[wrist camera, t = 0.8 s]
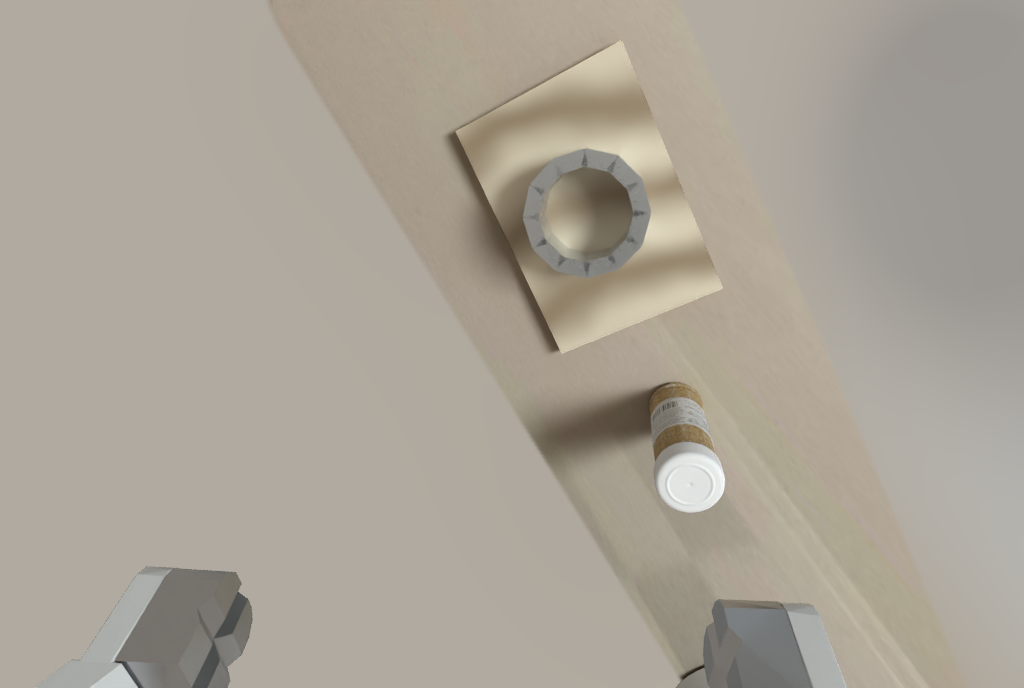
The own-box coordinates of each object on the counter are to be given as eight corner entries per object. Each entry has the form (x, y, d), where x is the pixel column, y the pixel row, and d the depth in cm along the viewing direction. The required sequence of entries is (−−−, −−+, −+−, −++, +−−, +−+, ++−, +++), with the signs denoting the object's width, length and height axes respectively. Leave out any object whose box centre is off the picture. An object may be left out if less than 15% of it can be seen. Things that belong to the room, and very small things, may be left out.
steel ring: (672, 206, 47) (676, 212, 44) (590, 289, 50) (587, 300, 47) (587, 124, 47) (583, 122, 43) (509, 213, 50) (499, 218, 46)
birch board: (720, 285, 50) (722, 288, 48) (563, 349, 54) (561, 353, 52) (621, 42, 46) (621, 39, 44) (459, 131, 50) (455, 131, 48)
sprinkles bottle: (659, 435, 54) (668, 523, 42) (640, 390, 53) (644, 466, 41) (710, 419, 53) (735, 504, 41) (692, 373, 52) (712, 445, 40)
